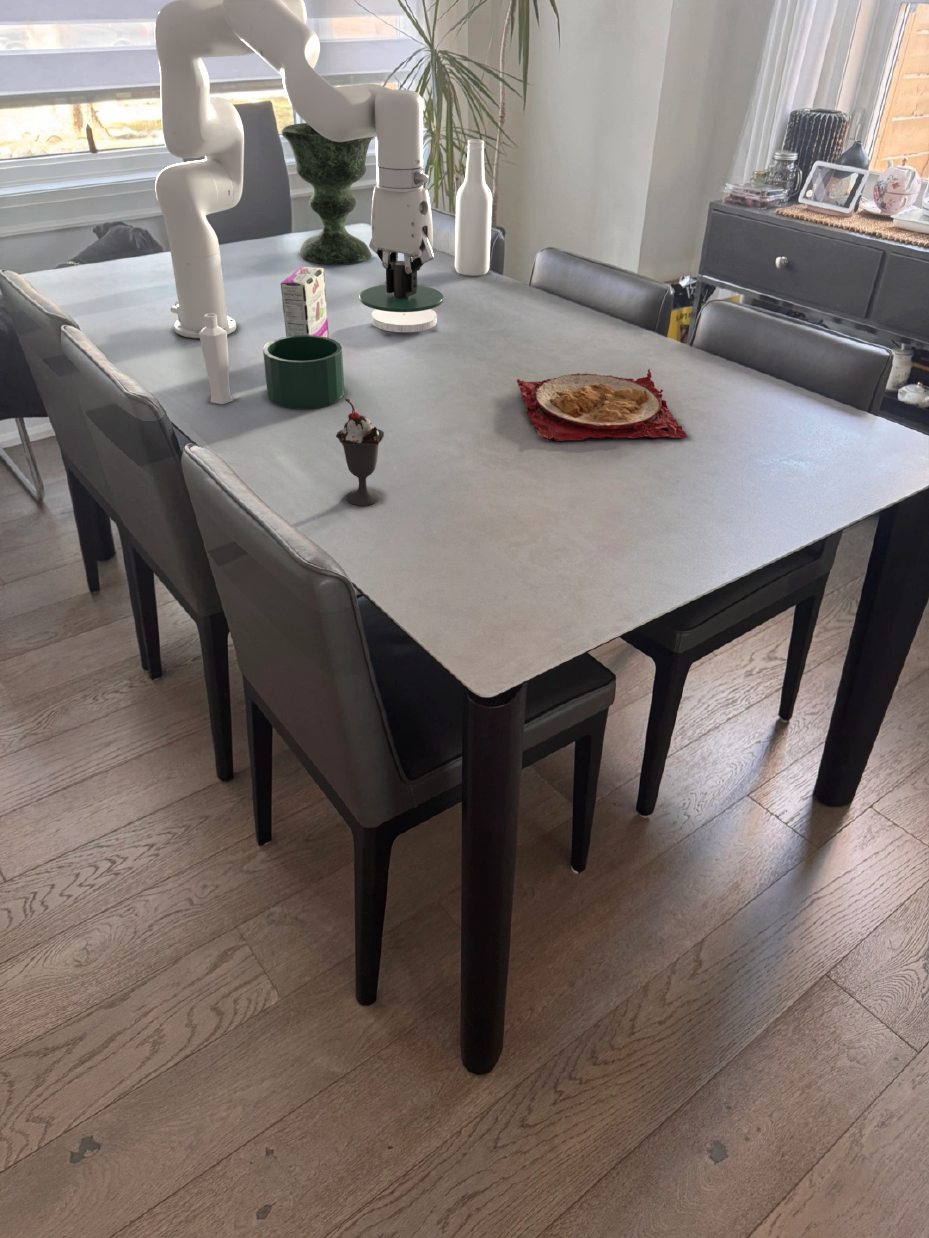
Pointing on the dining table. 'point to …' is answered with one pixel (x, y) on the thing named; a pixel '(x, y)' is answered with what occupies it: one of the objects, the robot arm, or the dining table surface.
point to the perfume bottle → (216, 359)
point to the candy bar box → (305, 303)
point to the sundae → (360, 454)
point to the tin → (304, 371)
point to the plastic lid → (404, 320)
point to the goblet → (330, 191)
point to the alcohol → (473, 216)
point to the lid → (400, 295)
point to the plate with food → (598, 407)
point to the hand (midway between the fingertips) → (401, 292)
